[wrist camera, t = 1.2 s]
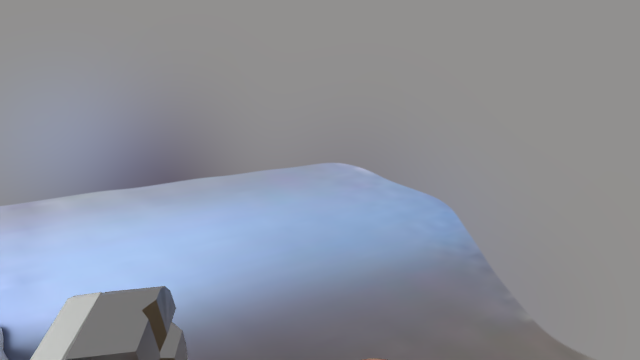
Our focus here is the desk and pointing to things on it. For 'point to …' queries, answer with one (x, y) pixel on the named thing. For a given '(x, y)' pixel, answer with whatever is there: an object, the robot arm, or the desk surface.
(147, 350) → the robot arm
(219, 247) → the desk surface
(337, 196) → the desk surface
